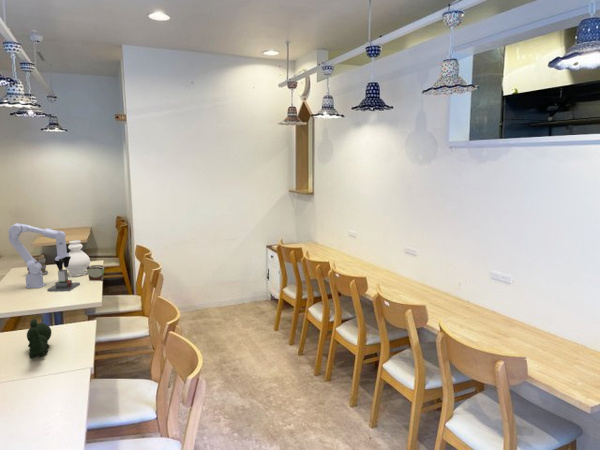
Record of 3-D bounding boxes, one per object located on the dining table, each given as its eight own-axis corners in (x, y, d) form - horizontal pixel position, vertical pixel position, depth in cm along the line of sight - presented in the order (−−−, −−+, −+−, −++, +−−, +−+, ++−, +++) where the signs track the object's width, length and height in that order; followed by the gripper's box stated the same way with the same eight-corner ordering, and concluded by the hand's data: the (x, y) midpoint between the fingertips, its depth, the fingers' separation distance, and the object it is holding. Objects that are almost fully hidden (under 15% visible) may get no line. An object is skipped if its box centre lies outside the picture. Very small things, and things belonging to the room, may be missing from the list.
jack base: (47, 291, 266) (46, 283, 265) (58, 285, 280) (58, 277, 279) (69, 291, 267) (69, 283, 266) (80, 284, 280) (79, 277, 280)
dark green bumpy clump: (50, 364, 175) (53, 337, 196) (45, 323, 170) (49, 300, 192) (23, 369, 170) (30, 341, 192) (18, 327, 166) (25, 303, 187)
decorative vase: (67, 272, 312) (64, 239, 308) (93, 270, 317) (90, 238, 314) (61, 278, 295) (58, 244, 291) (88, 276, 301) (86, 242, 297)
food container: (108, 278, 295) (107, 264, 294) (103, 280, 289) (102, 267, 288) (92, 278, 296) (91, 264, 295) (87, 280, 290) (86, 266, 289)
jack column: (58, 281, 270) (57, 270, 269) (61, 279, 274) (60, 269, 273) (65, 281, 271) (64, 270, 269) (68, 279, 275) (67, 269, 273)
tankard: (28, 273, 308) (26, 254, 306) (48, 271, 314) (46, 252, 311) (24, 280, 290) (21, 259, 288) (45, 278, 296) (42, 258, 293)
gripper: (62, 251, 273) (64, 271, 275) (72, 246, 287) (74, 265, 290) (51, 251, 273) (53, 271, 275) (62, 247, 287) (64, 265, 289)
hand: (63, 268), depth 282 cm, fingers open, 7 cm apart
